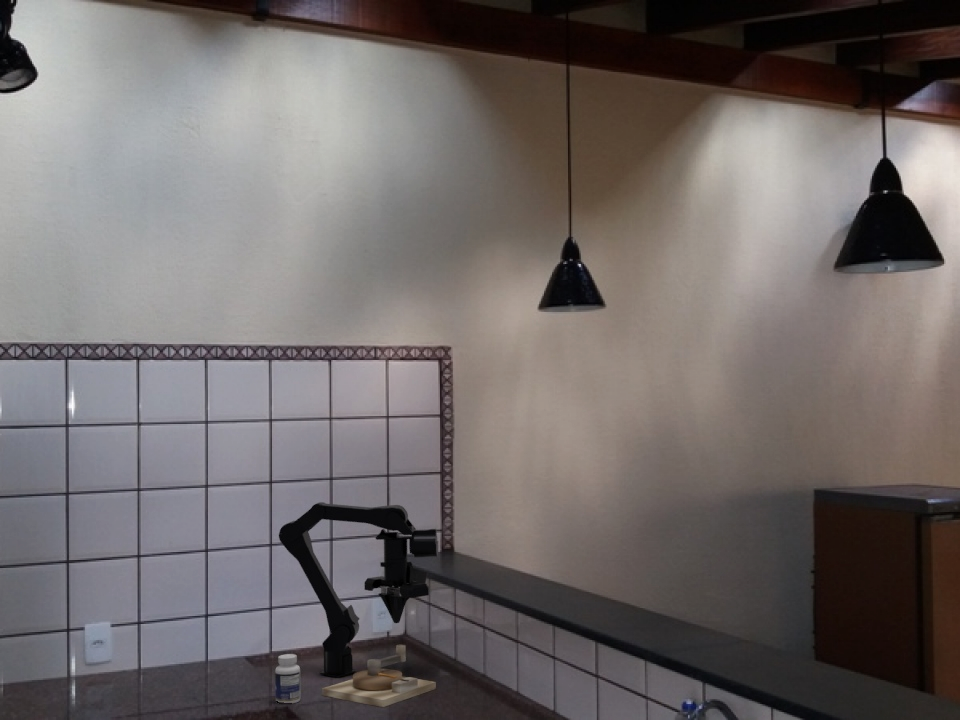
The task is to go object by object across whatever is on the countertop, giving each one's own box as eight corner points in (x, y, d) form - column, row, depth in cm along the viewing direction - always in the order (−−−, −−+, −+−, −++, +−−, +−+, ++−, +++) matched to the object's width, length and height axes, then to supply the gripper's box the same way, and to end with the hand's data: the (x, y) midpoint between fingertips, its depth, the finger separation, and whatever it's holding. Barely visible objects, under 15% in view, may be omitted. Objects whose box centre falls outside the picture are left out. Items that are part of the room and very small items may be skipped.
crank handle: (342, 685, 237) (342, 655, 237) (390, 671, 249) (389, 642, 250) (378, 692, 230) (378, 661, 231) (425, 677, 243) (425, 648, 243)
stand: (322, 695, 236) (322, 678, 236) (376, 678, 250) (375, 662, 250) (383, 707, 225) (382, 689, 225) (435, 688, 240) (435, 672, 240)
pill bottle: (276, 698, 234) (276, 653, 234) (301, 697, 234) (301, 652, 235) (274, 705, 228) (273, 659, 229) (299, 704, 229) (298, 658, 229)
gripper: (446, 557, 255) (447, 623, 254) (398, 551, 269) (399, 613, 268) (409, 562, 247) (410, 630, 246) (362, 555, 261) (363, 619, 260)
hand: (396, 622), depth 255 cm, fingers closed
